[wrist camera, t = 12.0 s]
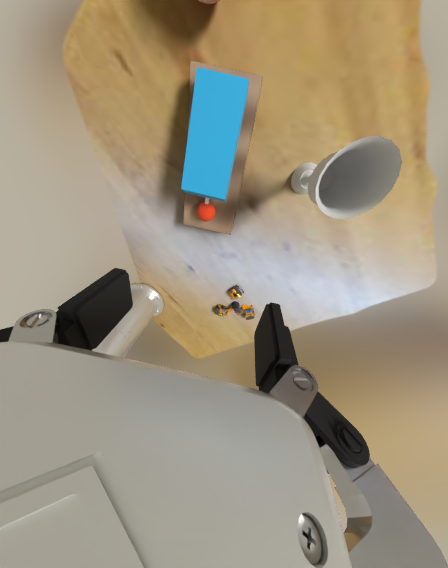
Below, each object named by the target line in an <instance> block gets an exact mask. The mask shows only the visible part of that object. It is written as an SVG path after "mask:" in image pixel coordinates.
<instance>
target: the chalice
mask: <svg viewBox="0 0 448 568" xmlns="http://www.w3.org/2000/svg"><path fill="white" fill-rule="evenodd" d="M401 163H402V160H401V155H400V150H399V148H398V147H397V146H396V145H395V144H394V142H393V141H392V140H389V139H386V138H384V137H381V136H376V137H365V138H362V139H360V140H357V141H354V142H352V143H350V144H349V145H347V146H346V147H344V148H343V149H341V150H340V151H338V152H336V153H333V154H331V155H329V156H328V157H326V158H325V159H323V160H322V161H321V162H320V163H319V164H318V165H316V164H314V163H312V162H307V163H304V164H302V165H300V166H299V167H298V168H297V169H296V170H295V171H294V173H293V175H292V179H291V186H292V188H293V190H294V191H295V192H296V193H299V194H306V193H308V194H309V197H310V199H311V200H312V201H313V202H314V203H315V204H316V205H318V206H319V208H320V210H321V211H323V212H324V213H325V214H326V215H327V216H330V217H333V218H351V217H354V216H358V215H360V214H362V213H364V212H366V211H368V210H370V209H372V208H373V207H374V206H376V205H377V204H378V203H379V202H381V201H382V200H383V199H384V198H385V196H386V195H387V194H388V193H389V192H390V190H391V189H392V188H393V186H394V184H395V182H396V180H397V178H398V176H399V173H400V168H401Z"/></svg>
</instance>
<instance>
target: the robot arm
mask: <svg viewBox="0 0 448 568" xmlns="http://www.w3.org/2000/svg"><path fill="white" fill-rule="evenodd" d="M163 307H164V302H163V299H162V297H161V295H160V294H159V293H158V292H157V291H156V290H155V289H154V288H152V287H150V286H148V285H146V284H142V283H134V284H130V281H129V275H128V273H126V271H125V270H122V269H118V268H114V269H113V270H111V271H110V272H108V273H107V274H106V275H104V276H103V277H101V278H100V279H98V280H97V281H95V282H94V283H92V284H91V285H90V286H88V287H87V288H85V289H84V290H82V291H81V292H80V293H78V294H76V295H75V296H74V297H72V298H71V299H69V300H68V301H66V302H65V303H63V304H62V305H61V306H59V307H58V309H59V310H58V311H57V312H55V311H53V310H50V309H42V310H36V311H33V312H30V313H28V314H25V315H24V316H22V317H21V318H19V319H18V320H17V321H16V323H15V325H14V326H13V327H9V328H5V329H1V330H0V568H448V565H447V563H446V560H445V558H444V556H443V554H442V552H441V550H440V548H439V547H438V545H437V544H436V542H435V540H434V539H433V537H432V536H431V535H430V533H429V532H428V531H427V529H426V528H425V527H424V525H423V524H422V523H421V521H420V520H419V519H418V517H417V516H416V515H415V513H414V512H413V510H412V509H411V508H410V507H409V505H408V504H407V502H406V501H405V500H404V498H403V497H402V496H401V494H400V493H399V492H398V490H397V489H396V487H395V486H394V485H393V484H392V482H391V481H390V479H389V478H388V477H387V475H386V474H385V473H384V471H383V470H382V469H381V467H380V466H379V465H378V464H376V465H375V464H374V463H373V461H372V460H371V458H370V454H369V449H368V446H367V444H366V442H365V440H364V438H363V437H362V435H361V434H360V433H359V431H358V430H357V429H356V428H355V427H354V426H353V425H352V424H351V423H350V422H349V421H348V420H347V419H346V418H345V417H344V416H342V415H341V413H340V412H339V411H337V410H336V409H335V408H334V407H333V406H332V405H331V404H330V403H329V402H328V401H327V400H326V399H325V398H324V397H323V396H322V395H321V394H320V393H319V392H318V383H317V380H316V378H315V377H314V376H313V374H312V373H311V372H310V371H309V370H307V369H306V368H304V367H301V366H299V365H298V362H297V358H296V354H295V350H294V346H293V342H292V338H291V334H290V330H289V328H288V327H287V326H284V321H283V317H282V313H281V308H280V305H279V304H275V303H270V304H267V305H266V307H265V309H264V311H263V314H262V316H261V319H260V321H259V323H258V326H257V328H256V331H255V335H254V339H255V371H256V386H259V390H256V389H253V388H249V387H246V386H242V385H238V384H234V383H230V382H226V381H222V380H218V379H214V378H209V377H205V376H201V375H197V374H192V373H188V372H184V371H179V370H175V369H171V368H166V367H162V366H157V365H153V364H149V363H144V362H140V361H135V360H131V359H127V358H124V356H125V355H126V353H127V352H128V350H129V349H130V347H131V346H132V345H133V343H134V342H135V340H136V339H137V337H138V336H139V334H140V333H141V332H142V330H143V329H144V327H145V326H147V325H148V321H149V320H150V318H151V317H153V316H157V315H158V314H160V313H161V311H162V310H163ZM328 474H330V476H331V478H332V479H333V481H334V483H335V485H336V487H335V489H336V491H337V493H338V495H339V496H340V498H341V500H342V503H343V505H344V507H345V510H346V515H347V528H346V530H345V532H344V533H343V529H342V525H341V521H340V518H339V513H338V510H337V506H336V502H335V498H334V494H333V490H332V487H331V483H330V480H329V477H328ZM301 514H302V515H301Z"/></svg>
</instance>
